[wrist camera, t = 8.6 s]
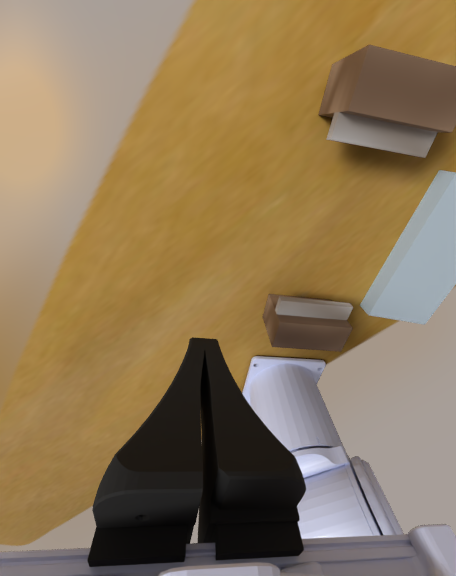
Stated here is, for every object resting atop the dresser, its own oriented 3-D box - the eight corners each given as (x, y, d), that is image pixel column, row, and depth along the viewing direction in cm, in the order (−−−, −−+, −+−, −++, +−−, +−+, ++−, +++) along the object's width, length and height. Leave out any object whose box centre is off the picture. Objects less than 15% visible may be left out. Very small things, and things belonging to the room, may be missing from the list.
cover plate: (410, 311, 26) (424, 324, 24) (357, 302, 25) (368, 315, 23) (498, 188, 20) (525, 193, 19) (434, 169, 19) (456, 172, 17)
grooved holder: (322, 321, 25) (341, 351, 22) (262, 316, 24) (271, 346, 21) (422, 85, 16) (481, 72, 13) (332, 64, 15) (369, 44, 12)
